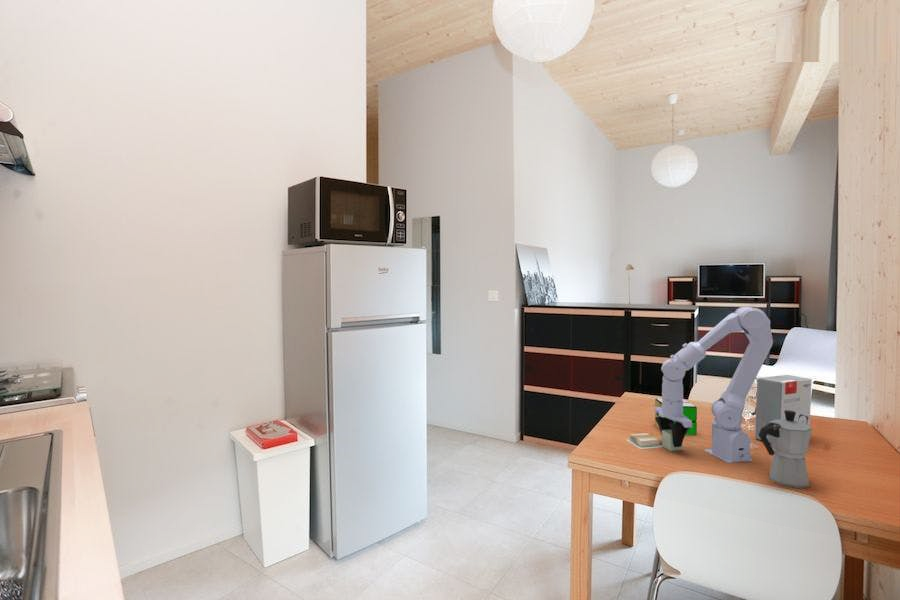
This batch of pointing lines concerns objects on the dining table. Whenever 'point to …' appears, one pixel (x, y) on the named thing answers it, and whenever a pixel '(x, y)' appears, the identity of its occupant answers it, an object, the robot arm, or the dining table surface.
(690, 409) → the puzzle cube
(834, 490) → the dining table surface
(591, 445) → the dining table surface
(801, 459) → the coffee maker
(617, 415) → the dining table surface
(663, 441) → the green block
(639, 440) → the base block
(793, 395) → the hard drive box
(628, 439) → the building mat
